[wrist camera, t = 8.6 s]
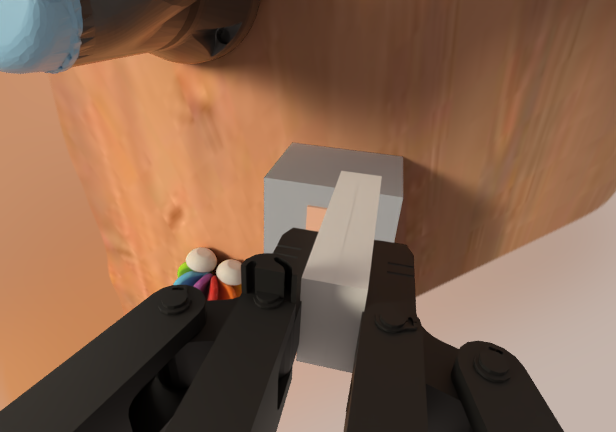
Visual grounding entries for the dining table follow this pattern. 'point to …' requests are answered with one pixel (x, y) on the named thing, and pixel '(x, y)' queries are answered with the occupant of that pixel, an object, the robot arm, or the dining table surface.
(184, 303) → the robot arm
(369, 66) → the dining table surface
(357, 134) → the dining table surface
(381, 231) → the socket block
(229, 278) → the rainbow disc toy
